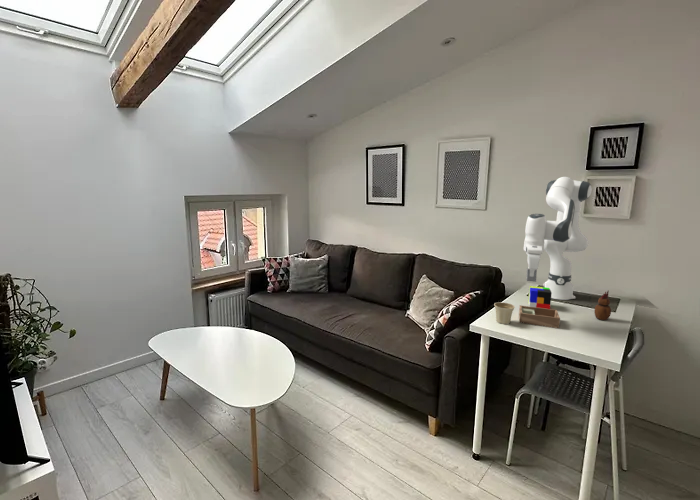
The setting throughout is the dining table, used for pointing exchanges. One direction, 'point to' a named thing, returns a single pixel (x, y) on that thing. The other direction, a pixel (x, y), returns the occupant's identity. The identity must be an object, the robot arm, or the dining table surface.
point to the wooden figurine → (603, 307)
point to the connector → (530, 276)
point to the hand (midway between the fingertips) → (531, 275)
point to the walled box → (539, 316)
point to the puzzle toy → (539, 297)
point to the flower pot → (503, 312)
